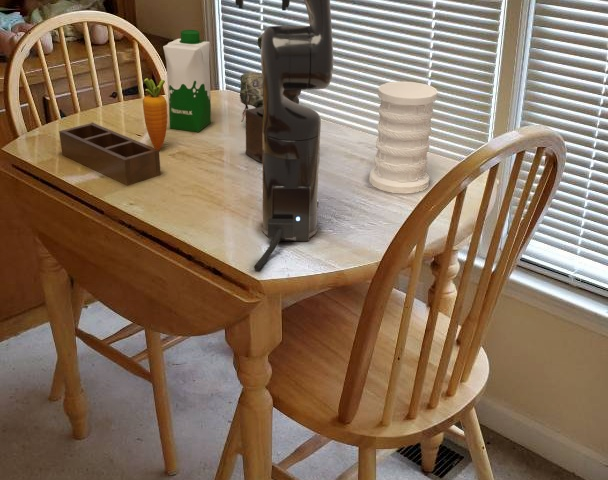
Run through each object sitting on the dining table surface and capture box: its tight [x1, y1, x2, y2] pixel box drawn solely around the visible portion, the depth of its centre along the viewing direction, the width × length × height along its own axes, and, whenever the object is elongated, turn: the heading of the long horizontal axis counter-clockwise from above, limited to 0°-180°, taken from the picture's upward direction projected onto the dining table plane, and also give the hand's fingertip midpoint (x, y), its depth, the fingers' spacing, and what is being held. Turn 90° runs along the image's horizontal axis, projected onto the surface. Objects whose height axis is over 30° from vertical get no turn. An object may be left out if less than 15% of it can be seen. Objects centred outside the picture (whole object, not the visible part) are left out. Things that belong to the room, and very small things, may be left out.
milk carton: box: [162, 29, 212, 133], centre depth 177 cm, size 9×9×20 cm
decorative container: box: [369, 81, 438, 194], centre depth 153 cm, size 12×12×18 cm
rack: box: [58, 122, 162, 186], centre depth 160 cm, size 8×22×5 cm, turn 47°
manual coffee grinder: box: [244, 90, 302, 164], centre depth 161 cm, size 16×11×18 cm
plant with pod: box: [239, 32, 264, 123], centre depth 179 cm, size 8×11×20 cm
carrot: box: [142, 77, 168, 151], centre depth 165 cm, size 5×5×15 cm
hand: (262, 8), depth 160 cm, fingers open, 8 cm apart
